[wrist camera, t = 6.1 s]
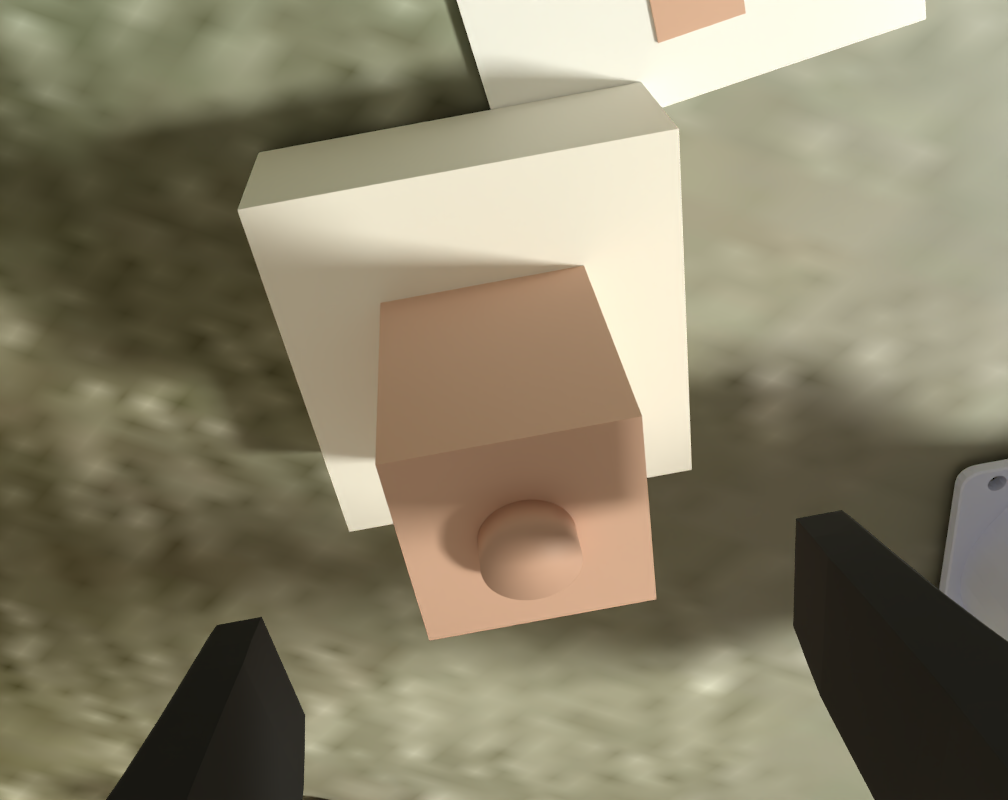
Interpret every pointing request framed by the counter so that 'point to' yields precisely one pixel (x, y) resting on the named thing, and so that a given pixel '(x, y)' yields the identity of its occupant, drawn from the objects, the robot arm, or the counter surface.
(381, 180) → the base brick
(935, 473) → the counter surface
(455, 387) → the top brick
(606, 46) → the page
